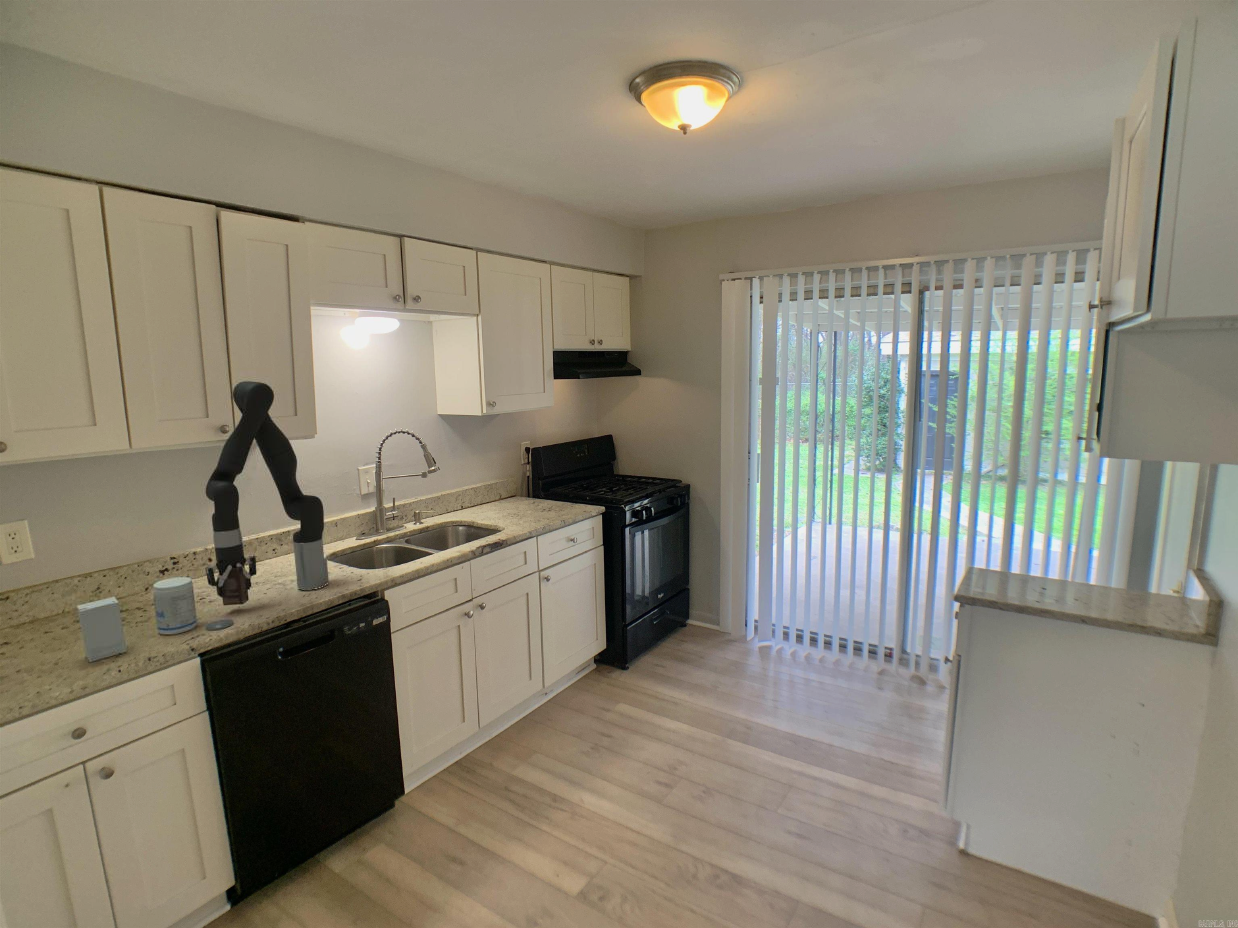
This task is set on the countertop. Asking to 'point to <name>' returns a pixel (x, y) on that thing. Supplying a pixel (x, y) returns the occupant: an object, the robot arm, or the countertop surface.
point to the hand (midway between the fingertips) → (234, 592)
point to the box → (235, 587)
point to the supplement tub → (174, 605)
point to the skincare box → (102, 628)
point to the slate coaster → (219, 624)
